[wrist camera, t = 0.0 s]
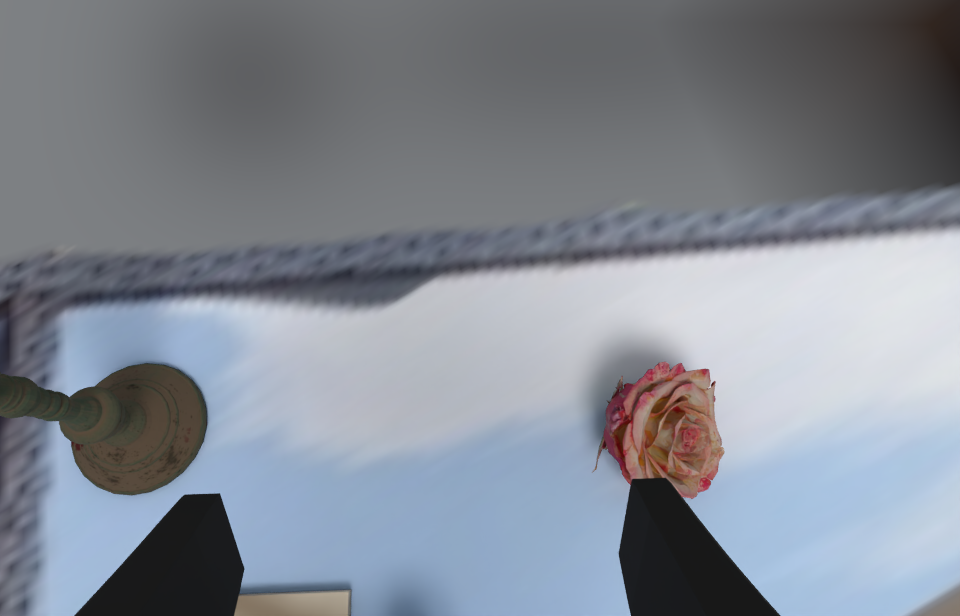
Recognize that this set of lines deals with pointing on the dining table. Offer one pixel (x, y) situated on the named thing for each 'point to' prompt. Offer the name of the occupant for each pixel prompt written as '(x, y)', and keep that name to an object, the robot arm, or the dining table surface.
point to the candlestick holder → (121, 424)
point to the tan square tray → (295, 604)
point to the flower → (665, 428)
